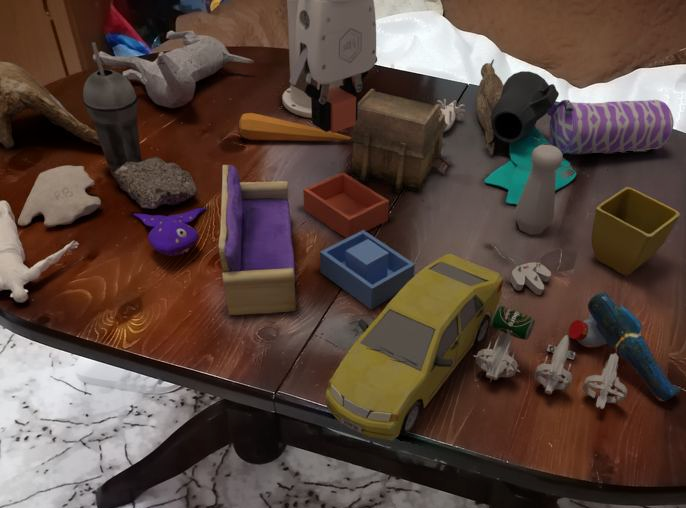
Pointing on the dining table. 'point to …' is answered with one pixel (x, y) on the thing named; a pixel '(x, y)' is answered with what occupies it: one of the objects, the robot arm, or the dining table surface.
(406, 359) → the toy car
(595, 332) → the red capped bottle
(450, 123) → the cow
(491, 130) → the bird model
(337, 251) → the blue bin
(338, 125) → the red block
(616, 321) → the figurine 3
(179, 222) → the toy
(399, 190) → the wooden crate
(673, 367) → the dining table surface
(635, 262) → the flower pot
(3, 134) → the rock
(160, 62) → the statue
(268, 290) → the toy sofa
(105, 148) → the beverage cup
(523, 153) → the cloth
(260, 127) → the carrot
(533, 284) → the game controller
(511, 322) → the beer can
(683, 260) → the dining table surface
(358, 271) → the blue block
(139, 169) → the stone
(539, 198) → the salt shaker
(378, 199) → the red bin
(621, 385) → the toy vehicles
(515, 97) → the mug
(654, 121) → the pencil case
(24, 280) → the figurine
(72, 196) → the decorative object
